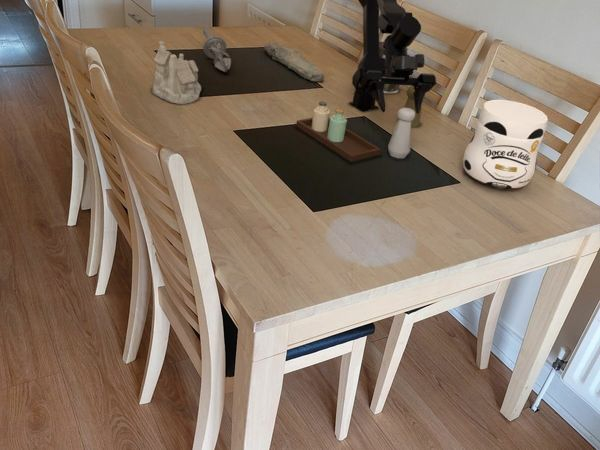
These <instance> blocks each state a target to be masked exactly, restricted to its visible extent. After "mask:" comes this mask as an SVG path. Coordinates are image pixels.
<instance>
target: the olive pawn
mask: <svg viewBox="0 0 600 450" xmlns="http://www.w3.org/2000/svg"><path fill="white" fill-rule="evenodd" d="M406 91H407V92H406V95H407V99H406V101H405V104H404V107H403V108H410V109H412V110H414V111H415V118H414V120H412V121H411V128H417V127H419V126H420V124H421V116H422V106H423V105H422V104H423V103H422V104H421V108H420V112H419V113H418V114H417V113H416V110H415V103H414V95H413V93H414V92H415V90H414V86H410V85H409V86H408V88H407V90H406ZM425 96H426V94H425V95H424V97H423V99H424V98H425Z"/></svg>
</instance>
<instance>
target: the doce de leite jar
mask: <svg viewBox="0 0 600 450" xmlns="http://www.w3.org/2000/svg"><path fill="white" fill-rule="evenodd" d="M548 120H549V119H548V115H547V114H545V113H544V112H543V111H541V110H540V109H538V108H536V107H534V106H532V105H529V104H526V103H524V102H523V103H521V102H518V101H514V100H508V99H491V100H487V101H486V102H484V103H483V105H482V107H481V109H480V112H479V117H478V118H477V120H476V121H477V122H476V124H475V125H476V126H475V129H474V133H473V136H472V138H471V140H470V141H469V143H468V144H467V146H466V148H465V150H464V153H463V159H462V167H463V170H464V171H465V173H466V174H467V175H468V177H470V178H471V179H472V180H474V181H476V182H477V183H480V184H482V185H484V186H486V187H491V188H493V189H499V190H507V191H508V190H517V189H522V188H523V187H525V186H527V185H528V184H529V182H530V181H531V180H532V178H533V176H534V175H535V171H536V169H537V157H538V152H539V148H540V146H541V144H542V141H543V139H544V136H545V132H546V130H547V127H548Z"/></svg>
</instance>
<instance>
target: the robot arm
mask: <svg viewBox="0 0 600 450" xmlns="http://www.w3.org/2000/svg"><path fill="white" fill-rule="evenodd" d="M357 1H358V2H359V4H360V6H361V7H362V30H363V31H362V40H363V41H362V42H363V43H362V51H363V53H362V55H363V56H362V58H361V59H360V61H359V63H358V65H357V69H356V71H355V72H354V74H353V75H352V78H351V84H352V86H353V88H354V89H355V90H354V92H353V98H352V101H349V105H350V106H352V107H354V108H356V109H358V110H359V111H361V112H366V111H371V110H377V109H378V108H380V110H381V112H382V113H385V112H386V99H385V93H384V91H383V88H384V84H390V85H399V86H409V87H410V86H414V90H415V92H414V93H413V95H414V103H415V110H416V113H417V114H418V113H419V112H420V108H421V109H422V106H421V104H423V100H424V98H425V97H424V95H425V96H426V93H429V92H430V91H431V90H432V89H433V88H434V87H435V86H436V85H437V84H438V82H437V77H436V75H435V74H434V73H425V72H421V73H420V74H418V76H417V77H411V76H413V75H414V71H418V69H422V68H424V66H425V54H423V53H417V54H414V55H413V56H412V55H410V54H408V50H407V49H408V47H409V46H411V45H412V43H413V42H414V41H415V40H416V38H417V37H418V36H419V34H420V33H421V31H422V25H421V22H420V21H419V19H417V18H416V17H414V16H413V12H410V11H409V12H408V11H407V10H406V9H405V8H404V7H403V6H402V5H400V4H398V1H397V0H357ZM380 34H385V35H387V36H386V37H385V38H384V40H383V42H384V44H383V48H385V58H386V61H385V59H384V58H382V57H381V56H380V54H379V42H380ZM385 62H386V63H385ZM385 68H386V69H385ZM386 70H387V72H386ZM423 97H424V98H423ZM376 103H377V105H376Z"/></svg>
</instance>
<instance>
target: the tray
mask: <svg viewBox="0 0 600 450" xmlns="http://www.w3.org/2000/svg"><path fill="white" fill-rule="evenodd" d="M312 119H313V117H309V118H303V119H298V120H296V124H295V125H296V127H297V128H299V129H300V130H302V131H303V132H305V133H306V134H308V135H309V136H311V137H312V138H314V139H315V140H317V141H318V142H320V143H321V144H323V145H325V146H326V147H327V148H329V149H331V150H332V151H334V152H335V153H337V154H339V155H340V156H342V157H343V158H344V159H345V160H347V161H349V162H351V163H352V162H356V161H359V160H364V159H368V158H371V157H376V156H379V155H381V151H382V149H381V148H380V147H378V146H377V145H375V144H373V143H372V142H370V141H368V140H367V139H365V138H364V137H362V136H360V135H358V134H356V133H355V132H354V131H352V130H350V129H349V128H347V127H346V128H345V134H344V140H343V141H342V142H333V141H330V140H329V139H328V138H327V136H328V129H329V123H330V117H329V122H328V128H327V131H324V132H318V131H315V130H313V129H312V128H311V127H312Z"/></svg>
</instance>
